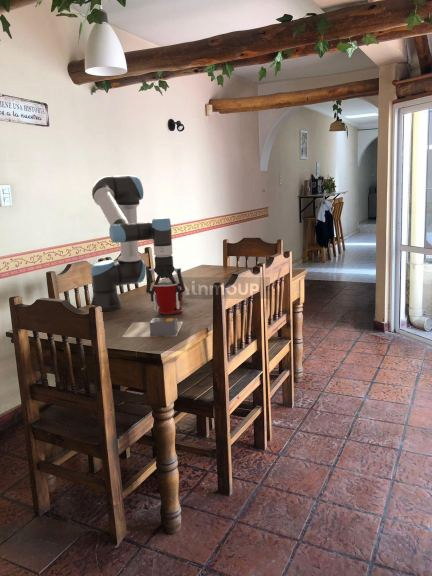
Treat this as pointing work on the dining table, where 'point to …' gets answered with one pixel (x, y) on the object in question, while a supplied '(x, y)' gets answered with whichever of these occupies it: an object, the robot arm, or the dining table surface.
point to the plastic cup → (165, 295)
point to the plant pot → (174, 306)
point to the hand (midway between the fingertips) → (166, 308)
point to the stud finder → (163, 327)
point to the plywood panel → (143, 330)
